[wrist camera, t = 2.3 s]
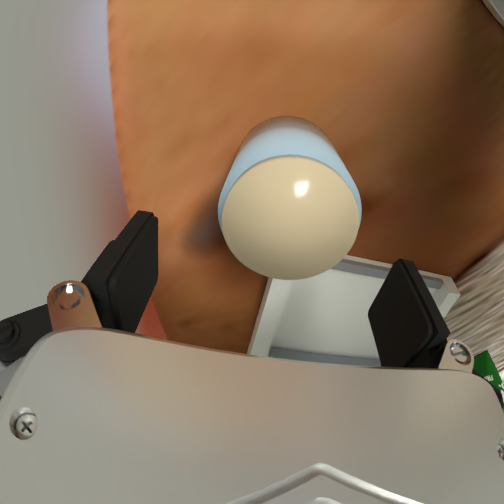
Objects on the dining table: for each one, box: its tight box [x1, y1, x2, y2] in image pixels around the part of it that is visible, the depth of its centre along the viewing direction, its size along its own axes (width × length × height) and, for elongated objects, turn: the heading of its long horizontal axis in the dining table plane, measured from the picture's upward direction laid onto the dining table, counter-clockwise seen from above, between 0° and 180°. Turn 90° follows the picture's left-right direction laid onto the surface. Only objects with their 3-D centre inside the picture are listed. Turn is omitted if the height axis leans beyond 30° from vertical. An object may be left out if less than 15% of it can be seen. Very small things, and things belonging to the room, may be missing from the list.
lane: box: [247, 255, 461, 359], centre depth 28 cm, size 21×16×3 cm
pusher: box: [269, 347, 381, 367], centre depth 29 cm, size 9×12×6 cm
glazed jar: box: [218, 116, 362, 280], centre depth 16 cm, size 6×6×8 cm
